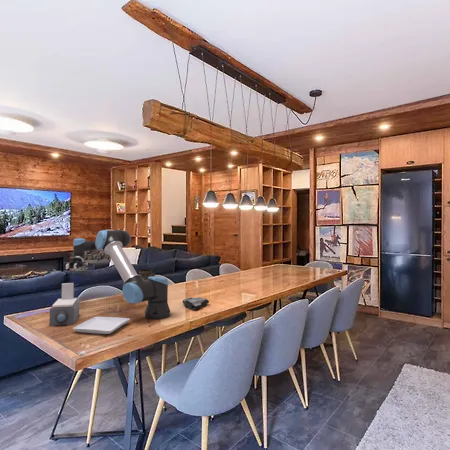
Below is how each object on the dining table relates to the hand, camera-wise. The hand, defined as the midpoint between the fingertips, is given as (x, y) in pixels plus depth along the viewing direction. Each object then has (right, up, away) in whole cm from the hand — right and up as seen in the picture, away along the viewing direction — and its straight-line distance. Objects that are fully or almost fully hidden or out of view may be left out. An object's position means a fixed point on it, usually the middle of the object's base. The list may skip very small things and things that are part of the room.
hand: (70, 267), depth 196 cm
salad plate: (+30, -29, -27) cm, 50 cm away
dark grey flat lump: (+73, -29, +21) cm, 82 cm away
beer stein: (+35, -28, +49) cm, 66 cm away
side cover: (+4, -19, -14) cm, 24 cm away
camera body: (+4, -28, -15) cm, 32 cm away
